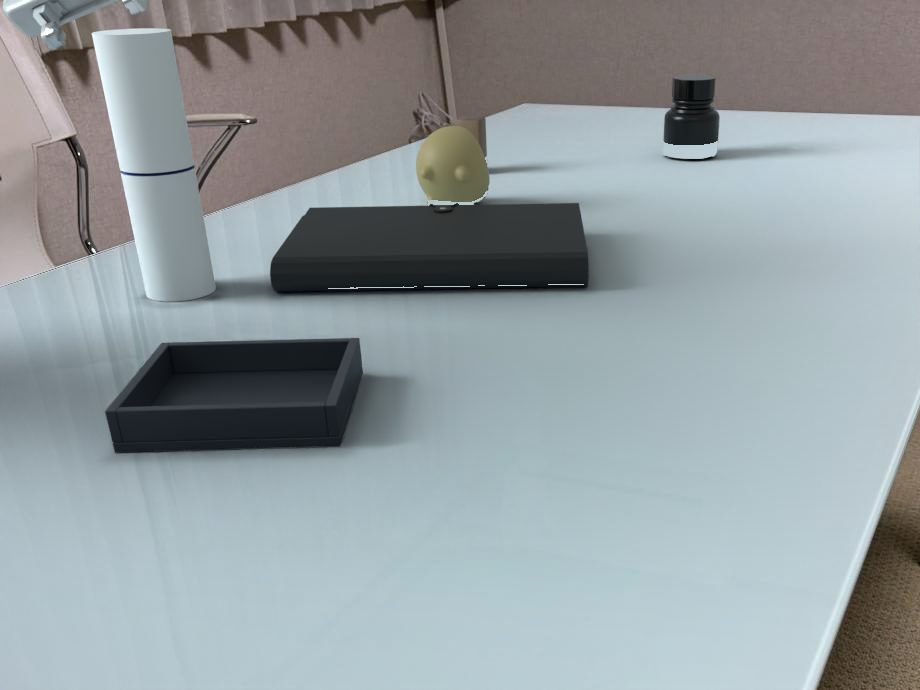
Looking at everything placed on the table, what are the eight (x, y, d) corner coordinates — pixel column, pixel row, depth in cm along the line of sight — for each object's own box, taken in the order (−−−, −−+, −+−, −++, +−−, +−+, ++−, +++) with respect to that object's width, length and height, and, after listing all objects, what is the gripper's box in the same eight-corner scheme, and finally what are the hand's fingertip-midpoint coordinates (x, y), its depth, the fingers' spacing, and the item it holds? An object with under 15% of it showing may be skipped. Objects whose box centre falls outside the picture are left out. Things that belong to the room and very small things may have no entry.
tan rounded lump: (491, 235, 144) (505, 170, 147) (475, 180, 133) (490, 111, 136) (423, 230, 146) (438, 166, 149) (401, 175, 135) (418, 107, 138)
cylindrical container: (150, 305, 108) (94, 36, 95) (142, 286, 113) (89, 30, 101) (221, 295, 110) (175, 32, 97) (210, 278, 116) (166, 27, 103)
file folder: (578, 199, 128) (588, 255, 108) (578, 233, 130) (588, 294, 110) (309, 204, 128) (267, 260, 108) (313, 237, 130) (273, 300, 110)
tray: (114, 452, 77) (104, 411, 75) (168, 379, 90) (161, 342, 88) (340, 446, 77) (335, 405, 76) (363, 374, 90) (359, 337, 88)
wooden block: (488, 169, 166) (486, 115, 162) (481, 174, 163) (478, 119, 159) (463, 168, 167) (461, 115, 163) (456, 174, 163) (453, 119, 159)
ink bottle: (729, 156, 173) (735, 77, 167) (697, 164, 167) (702, 82, 161) (682, 149, 179) (686, 72, 173) (649, 156, 173) (652, 78, 167)
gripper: (-6, -56, 107) (-20, 38, 101) (164, -136, 102) (160, -42, 97) (39, -6, 113) (29, 86, 107) (203, -79, 108) (201, 13, 102)
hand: (93, 25), depth 102 cm, fingers open, 8 cm apart
